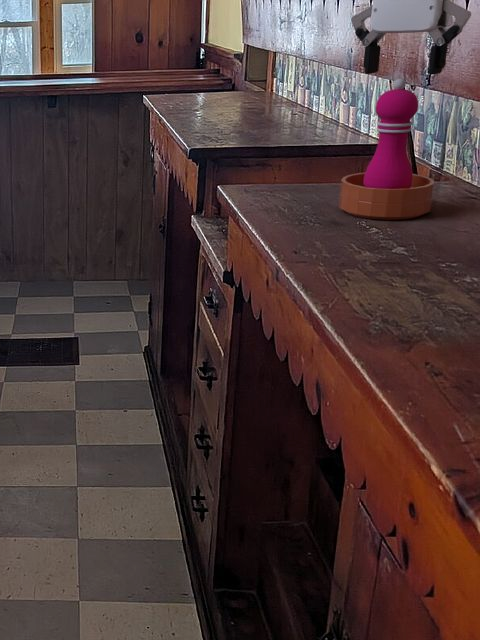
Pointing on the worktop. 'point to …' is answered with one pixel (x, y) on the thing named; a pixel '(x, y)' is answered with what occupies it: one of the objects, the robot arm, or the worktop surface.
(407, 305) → the worktop surface
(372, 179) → the pepper mill
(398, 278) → the worktop surface
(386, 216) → the bowl
